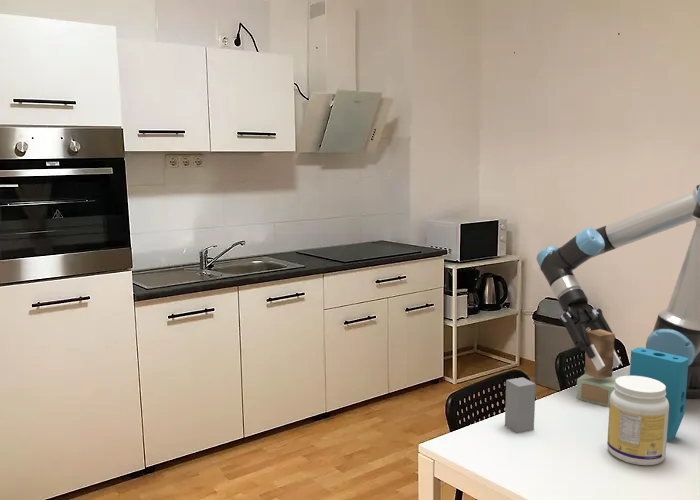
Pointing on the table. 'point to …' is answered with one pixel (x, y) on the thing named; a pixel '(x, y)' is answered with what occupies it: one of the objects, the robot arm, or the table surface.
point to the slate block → (520, 405)
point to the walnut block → (601, 353)
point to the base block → (595, 389)
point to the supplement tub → (638, 420)
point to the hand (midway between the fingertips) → (609, 366)
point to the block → (664, 380)
